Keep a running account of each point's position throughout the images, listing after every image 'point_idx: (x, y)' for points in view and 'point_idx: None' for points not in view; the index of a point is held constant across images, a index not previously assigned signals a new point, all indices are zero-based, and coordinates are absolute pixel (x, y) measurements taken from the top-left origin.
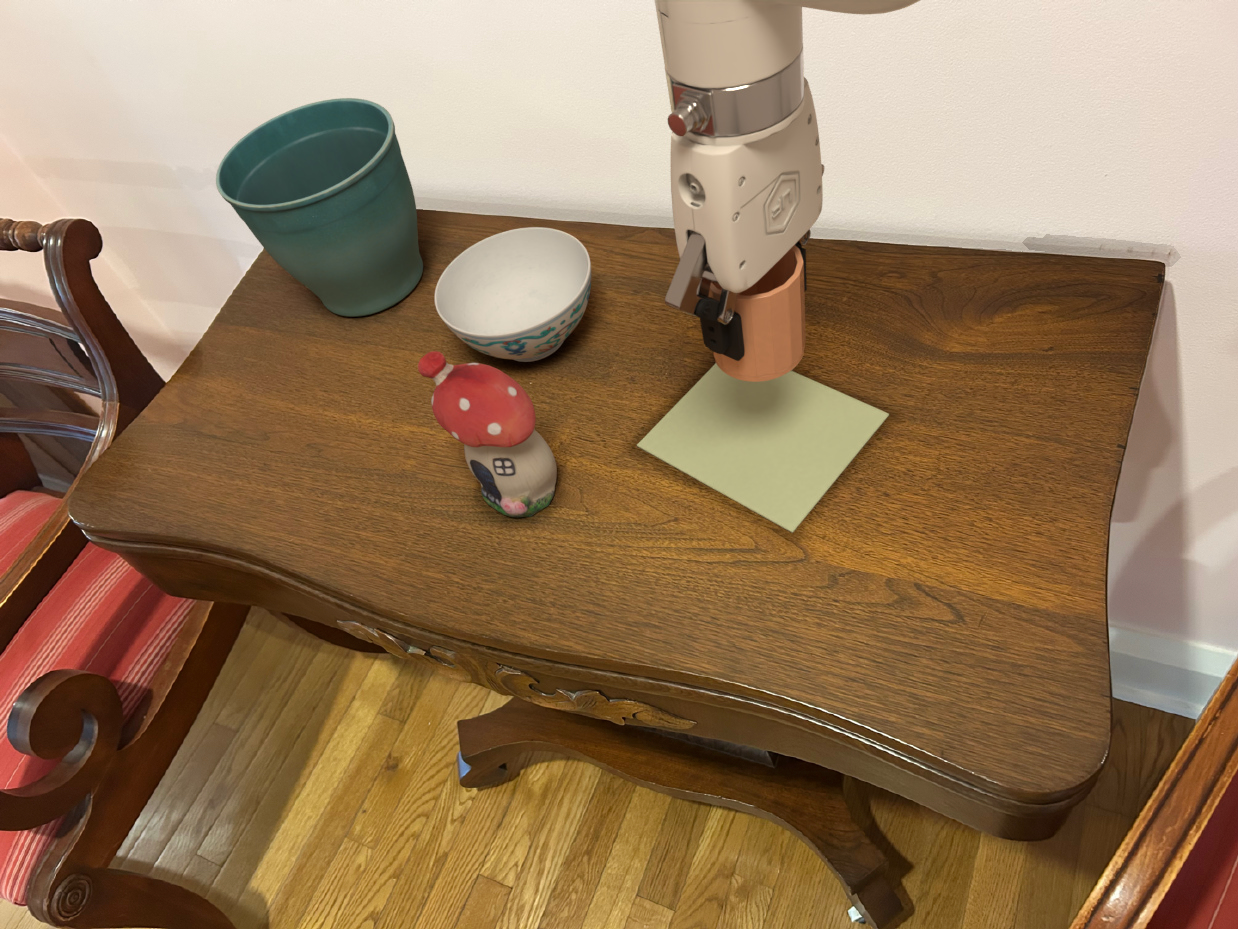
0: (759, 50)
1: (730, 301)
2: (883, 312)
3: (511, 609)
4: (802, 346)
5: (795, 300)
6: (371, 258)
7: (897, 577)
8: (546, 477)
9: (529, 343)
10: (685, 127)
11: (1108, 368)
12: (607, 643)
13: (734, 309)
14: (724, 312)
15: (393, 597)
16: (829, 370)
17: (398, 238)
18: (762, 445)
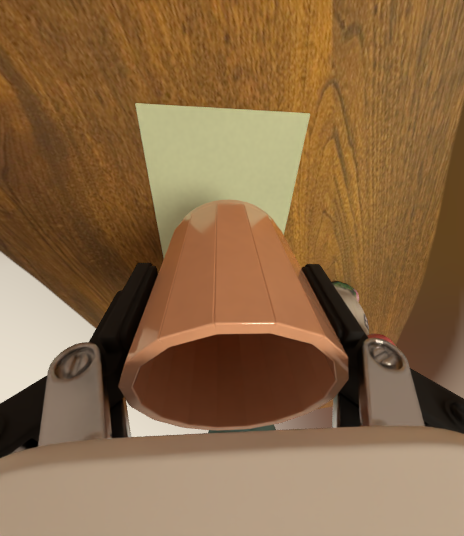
0: None
1: (394, 388)
2: (39, 187)
3: (414, 255)
4: (214, 207)
5: (234, 271)
6: (256, 428)
7: None
8: (343, 297)
9: None
10: None
11: None
12: (437, 189)
13: (365, 355)
14: (410, 373)
15: (411, 303)
16: (132, 192)
17: (238, 429)
18: (236, 195)
